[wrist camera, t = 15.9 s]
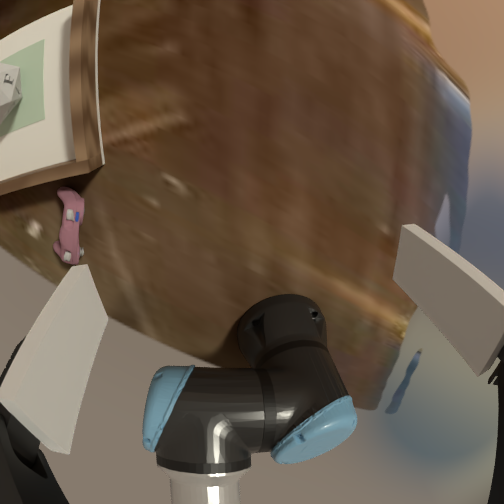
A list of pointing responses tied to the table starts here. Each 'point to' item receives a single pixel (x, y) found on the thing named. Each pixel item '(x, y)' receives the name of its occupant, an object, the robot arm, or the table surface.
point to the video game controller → (70, 226)
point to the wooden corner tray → (53, 99)
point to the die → (9, 89)
